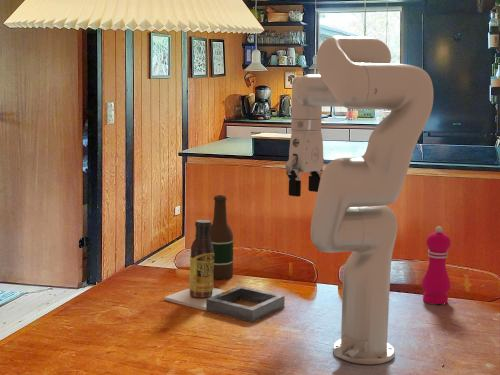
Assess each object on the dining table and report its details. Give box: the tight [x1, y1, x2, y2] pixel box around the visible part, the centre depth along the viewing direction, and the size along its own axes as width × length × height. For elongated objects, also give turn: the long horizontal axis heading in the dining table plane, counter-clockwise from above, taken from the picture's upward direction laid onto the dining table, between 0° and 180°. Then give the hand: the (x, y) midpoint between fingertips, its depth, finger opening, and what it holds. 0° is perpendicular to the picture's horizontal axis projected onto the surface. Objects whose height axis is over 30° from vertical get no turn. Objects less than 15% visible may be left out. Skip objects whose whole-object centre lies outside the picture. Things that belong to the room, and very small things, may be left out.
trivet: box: [163, 287, 226, 311], centre depth 172 cm, size 14×14×1 cm
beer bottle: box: [210, 194, 234, 281], centre depth 190 cm, size 8×8×24 cm
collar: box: [205, 285, 286, 323], centre depth 163 cm, size 14×14×3 cm
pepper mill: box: [421, 225, 451, 305], centre depth 170 cm, size 7×7×20 cm
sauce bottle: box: [188, 219, 214, 298], centre depth 170 cm, size 7×6×20 cm
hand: (304, 193), depth 166 cm, fingers open, 9 cm apart
